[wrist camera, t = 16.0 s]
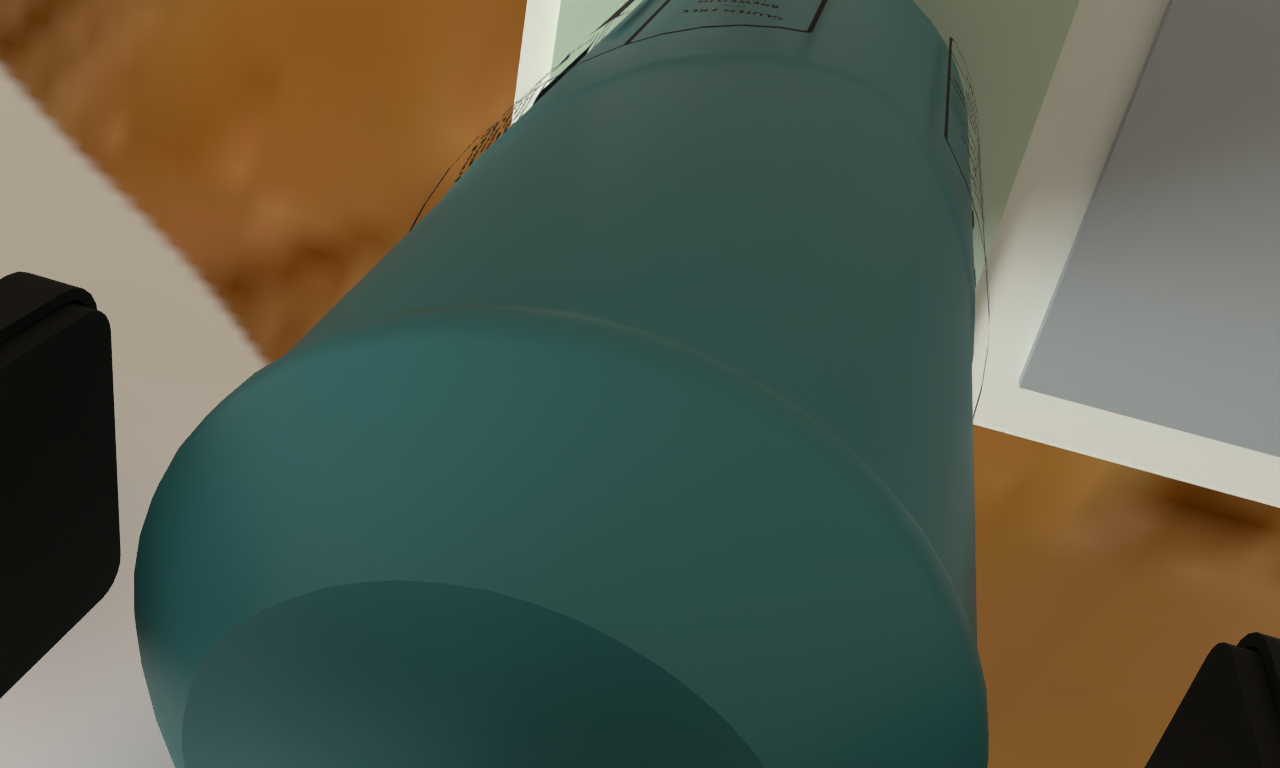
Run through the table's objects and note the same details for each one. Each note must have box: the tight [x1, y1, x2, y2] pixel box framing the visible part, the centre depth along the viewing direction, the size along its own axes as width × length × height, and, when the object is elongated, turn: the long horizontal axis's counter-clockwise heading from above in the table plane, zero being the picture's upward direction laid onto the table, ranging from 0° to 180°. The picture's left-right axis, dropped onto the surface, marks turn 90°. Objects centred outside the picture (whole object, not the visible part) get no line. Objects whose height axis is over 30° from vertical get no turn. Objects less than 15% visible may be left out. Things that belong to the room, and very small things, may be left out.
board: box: [511, 0, 1280, 508], centre depth 22 cm, size 20×11×1 cm, turn 79°
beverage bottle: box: [134, 0, 990, 768], centre depth 13 cm, size 6×7×20 cm
